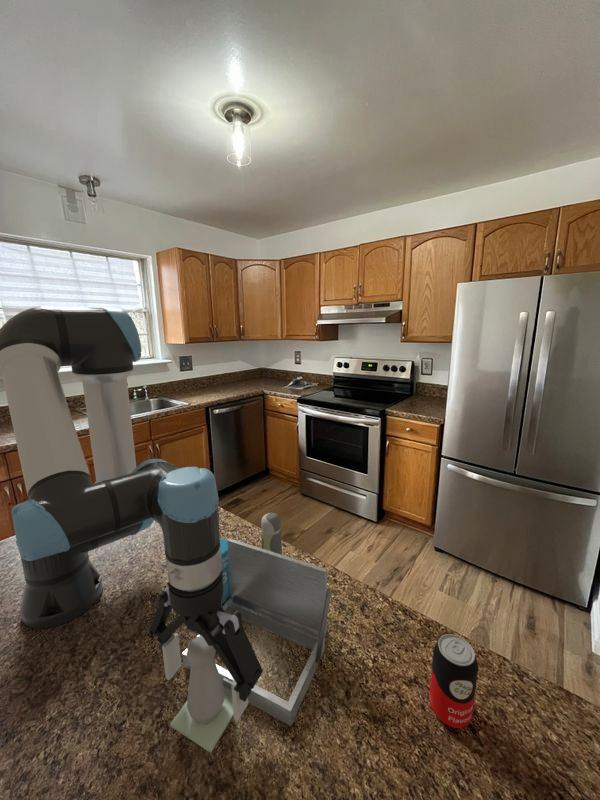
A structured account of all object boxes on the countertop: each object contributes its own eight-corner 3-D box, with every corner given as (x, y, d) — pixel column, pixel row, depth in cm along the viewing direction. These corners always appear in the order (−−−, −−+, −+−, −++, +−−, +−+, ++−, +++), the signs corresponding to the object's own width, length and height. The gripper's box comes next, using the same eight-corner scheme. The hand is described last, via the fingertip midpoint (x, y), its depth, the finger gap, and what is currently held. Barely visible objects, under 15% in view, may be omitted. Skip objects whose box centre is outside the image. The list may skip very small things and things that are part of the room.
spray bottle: (269, 583, 82) (267, 507, 78) (287, 589, 80) (285, 512, 75) (258, 597, 78) (255, 518, 73) (276, 604, 75) (274, 523, 71)
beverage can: (421, 709, 55) (427, 648, 52) (438, 681, 59) (444, 623, 56) (462, 743, 50) (470, 678, 48) (477, 710, 54) (485, 648, 52)
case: (181, 669, 61) (173, 588, 58) (233, 606, 75) (229, 538, 71) (295, 733, 52) (294, 641, 48) (331, 647, 65) (332, 570, 62)
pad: (170, 725, 53) (169, 724, 53) (205, 678, 60) (205, 676, 60) (210, 753, 49) (210, 751, 49) (242, 699, 56) (242, 697, 56)
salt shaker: (211, 683, 58) (205, 620, 56) (232, 706, 55) (228, 640, 52) (180, 713, 54) (172, 646, 51) (202, 740, 50) (194, 670, 48)
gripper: (114, 565, 51) (130, 677, 56) (254, 626, 40) (259, 759, 45) (154, 537, 58) (166, 640, 62) (284, 584, 47) (286, 704, 52)
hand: (205, 690), depth 54 cm, fingers open, 13 cm apart
